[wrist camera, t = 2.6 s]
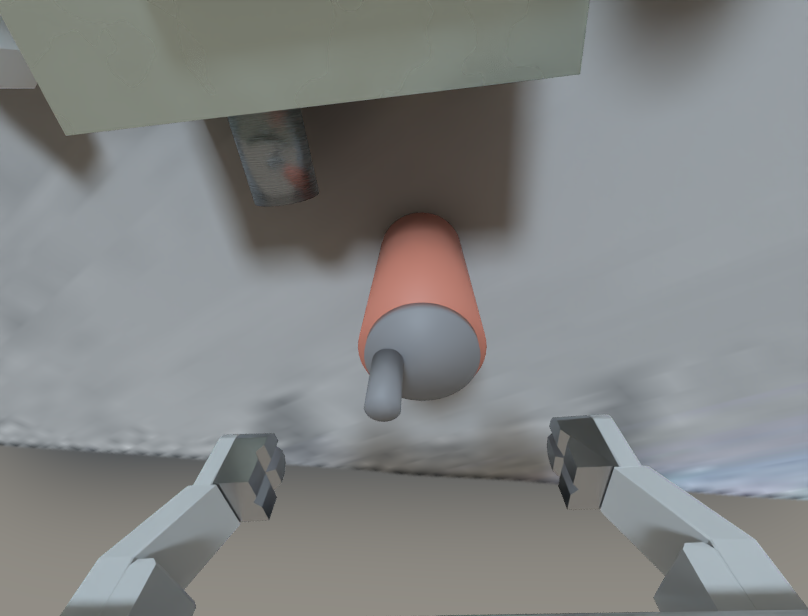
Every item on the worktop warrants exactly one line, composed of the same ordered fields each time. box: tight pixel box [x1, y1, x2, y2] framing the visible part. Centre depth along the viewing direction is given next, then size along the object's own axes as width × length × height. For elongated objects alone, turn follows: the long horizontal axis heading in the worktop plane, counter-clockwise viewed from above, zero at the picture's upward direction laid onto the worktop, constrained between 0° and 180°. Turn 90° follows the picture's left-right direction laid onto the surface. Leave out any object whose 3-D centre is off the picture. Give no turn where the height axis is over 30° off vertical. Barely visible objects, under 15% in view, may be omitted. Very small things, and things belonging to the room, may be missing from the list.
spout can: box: [358, 213, 487, 422], centre depth 17 cm, size 5×5×13 cm
